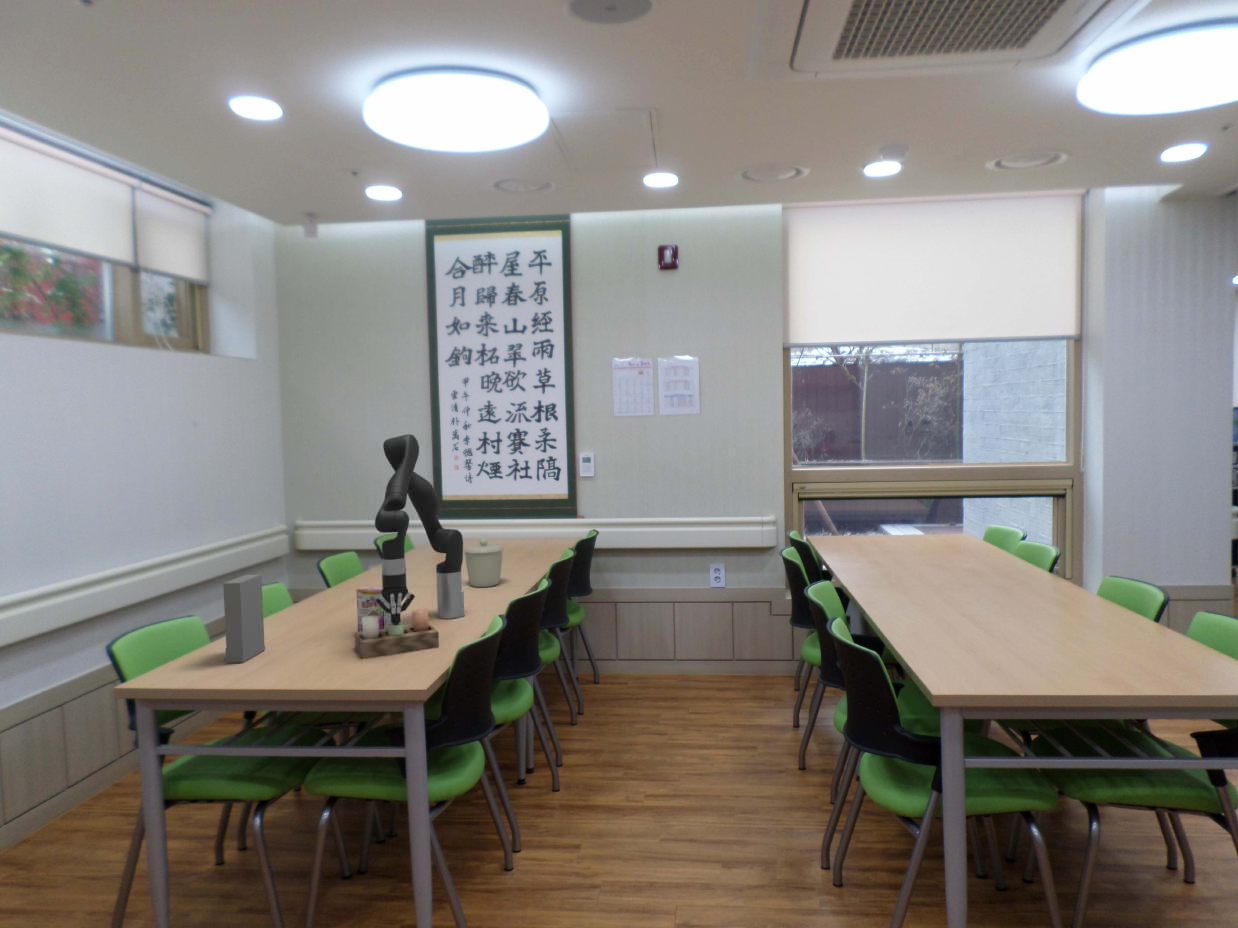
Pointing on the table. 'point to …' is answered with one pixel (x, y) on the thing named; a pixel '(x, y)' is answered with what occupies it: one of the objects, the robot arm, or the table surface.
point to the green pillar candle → (395, 629)
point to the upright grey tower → (243, 618)
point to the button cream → (370, 627)
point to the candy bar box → (371, 607)
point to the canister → (484, 564)
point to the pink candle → (420, 620)
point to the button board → (396, 642)
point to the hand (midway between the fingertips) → (395, 624)
